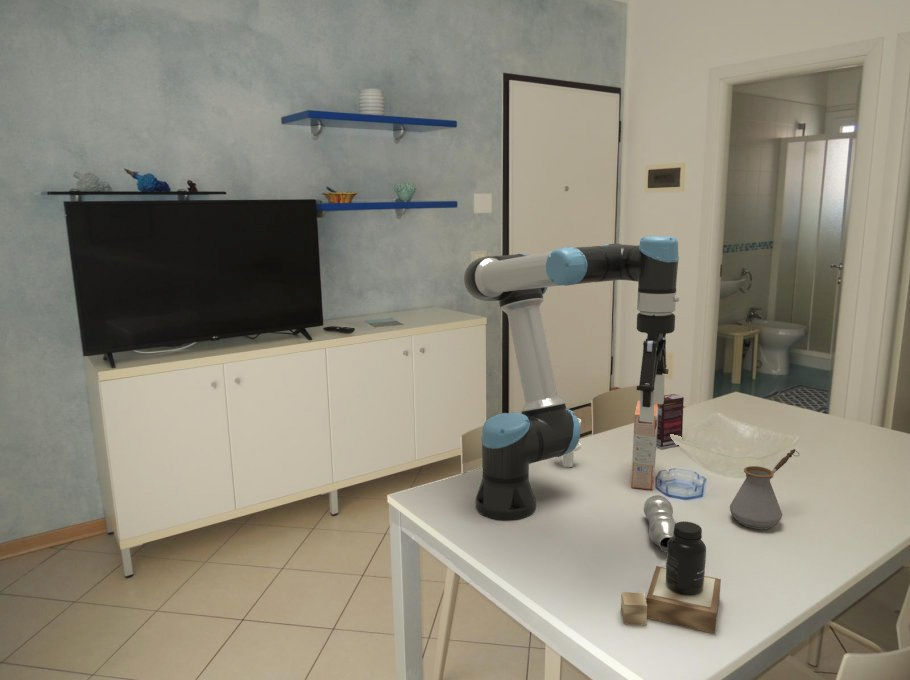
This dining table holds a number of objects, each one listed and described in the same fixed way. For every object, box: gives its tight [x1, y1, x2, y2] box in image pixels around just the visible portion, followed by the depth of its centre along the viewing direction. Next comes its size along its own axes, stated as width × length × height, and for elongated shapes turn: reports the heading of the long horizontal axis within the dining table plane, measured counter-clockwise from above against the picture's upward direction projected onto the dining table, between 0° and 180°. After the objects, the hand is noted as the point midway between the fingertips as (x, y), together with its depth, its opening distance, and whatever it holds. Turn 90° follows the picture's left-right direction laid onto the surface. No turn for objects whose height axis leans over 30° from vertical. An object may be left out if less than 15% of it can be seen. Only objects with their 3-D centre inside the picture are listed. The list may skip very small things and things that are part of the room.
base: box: [645, 565, 722, 634], centre depth 125 cm, size 12×12×4 cm
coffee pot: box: [729, 448, 800, 530], centre depth 160 cm, size 21×12×15 cm, turn 124°
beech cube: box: [620, 591, 648, 626], centre depth 122 cm, size 4×4×4 cm
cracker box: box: [630, 399, 658, 491], centre depth 182 cm, size 14×6×21 cm, turn 161°
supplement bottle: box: [665, 521, 707, 595], centre depth 124 cm, size 7×7×12 cm
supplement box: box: [656, 393, 685, 450], centre depth 208 cm, size 9×5×16 cm, turn 114°
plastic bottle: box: [643, 494, 677, 553], centre depth 152 cm, size 6×7×20 cm
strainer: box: [562, 417, 582, 468], centre depth 194 cm, size 7×7×15 cm
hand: (651, 412), depth 140 cm, fingers open, 13 cm apart
